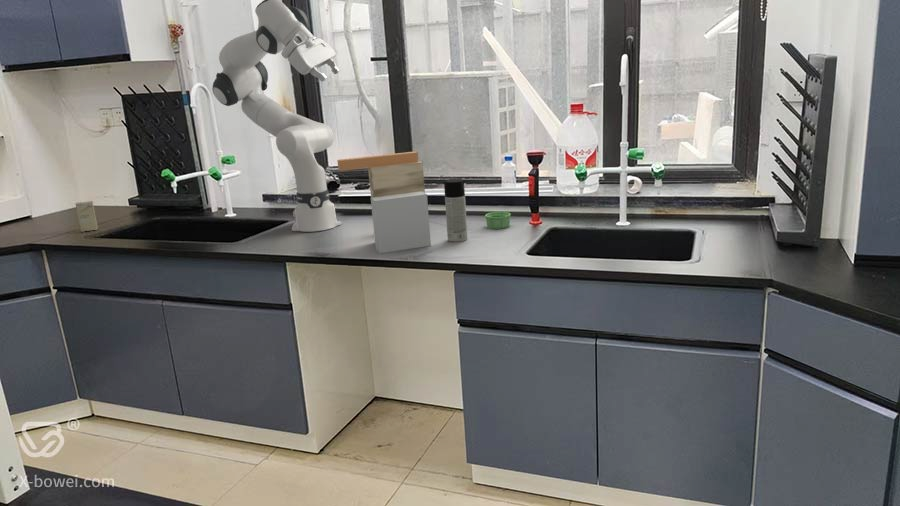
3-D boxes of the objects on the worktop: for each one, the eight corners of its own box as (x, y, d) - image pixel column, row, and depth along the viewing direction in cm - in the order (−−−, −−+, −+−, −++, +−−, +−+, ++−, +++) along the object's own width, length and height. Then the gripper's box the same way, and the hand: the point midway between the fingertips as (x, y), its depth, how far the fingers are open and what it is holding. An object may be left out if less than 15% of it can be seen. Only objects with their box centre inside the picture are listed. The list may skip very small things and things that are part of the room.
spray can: (470, 237, 219) (466, 178, 213) (464, 242, 213) (460, 182, 207) (451, 237, 221) (447, 178, 216) (444, 242, 215) (440, 182, 210)
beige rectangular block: (375, 242, 221) (367, 165, 214) (423, 235, 226) (417, 160, 219) (379, 246, 216) (371, 167, 209) (428, 238, 221) (422, 162, 214)
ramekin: (497, 230, 226) (497, 218, 224) (480, 227, 233) (479, 215, 231) (516, 225, 231) (515, 213, 230) (498, 222, 238) (498, 210, 237)
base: (375, 249, 212) (370, 197, 208) (425, 241, 218) (421, 191, 213) (380, 253, 207) (374, 200, 202) (430, 245, 212) (426, 194, 207)
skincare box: (81, 233, 269) (74, 204, 266) (82, 231, 273) (75, 202, 270) (98, 230, 272) (91, 202, 268) (98, 228, 276) (92, 200, 272)
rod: (338, 169, 210) (337, 159, 209) (415, 161, 218) (414, 151, 217) (340, 170, 207) (339, 160, 206) (418, 162, 215) (417, 152, 214)
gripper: (309, 42, 213) (339, 74, 216) (278, 56, 196) (310, 91, 199) (320, 28, 210) (350, 61, 213) (290, 41, 193) (323, 77, 195)
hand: (331, 76), depth 206 cm, fingers open, 8 cm apart
